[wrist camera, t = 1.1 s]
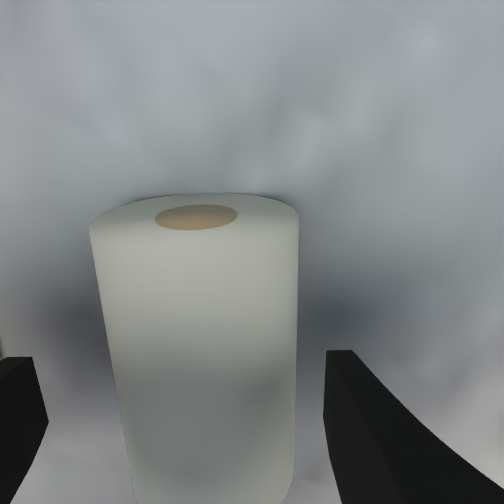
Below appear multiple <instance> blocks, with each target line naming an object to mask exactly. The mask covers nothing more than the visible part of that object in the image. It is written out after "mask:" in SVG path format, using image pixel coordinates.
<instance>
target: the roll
mask: <svg viewBox="0 0 504 504" xmlns="http://www.w3.org/2000/svg"><path fill="white" fill-rule="evenodd" d="M89 235H90V241H91V247H92V253H93V258H94V264H95V270H96V276H97V282H98V287H99V293H100V299H101V305H102V310H103V316H104V322H105V328H106V333H107V339H108V345H109V351H110V357H111V362H112V368H113V374H114V380H115V385H116V391H117V397H118V403H119V408H120V414H121V420H122V426H123V432H124V437H125V443H126V449H127V455H128V460H129V466H130V472H131V478H132V484H133V489H134V494H135V497H136V500H137V503H138V504H282V502H283V501H284V499H285V497H286V496H287V494H288V492H289V489H290V487H291V484H292V480H293V476H294V459H295V407H296V355H297V302H298V250H299V215H298V213H297V212H296V210H295V209H293V208H292V207H291V206H289V205H287V204H285V203H283V202H280V201H277V200H274V199H270V198H266V197H261V196H255V195H247V194H236V193H206V194H179V195H170V196H163V197H157V198H151V199H146V200H141V201H137V202H133V203H130V204H126V205H123V206H120V207H117V208H115V209H112V210H110V211H108V212H106V213H104V214H102V215H100V216H99V217H97V218H96V219H95V220H94V221H93V222H92V223H91V224H90V226H89Z"/></svg>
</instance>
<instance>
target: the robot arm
mask: <svg viewBox="0 0 504 504" xmlns="http://www.w3.org/2000/svg"><path fill="white" fill-rule="evenodd" d="M323 419H324V426H325V432H326V439H327V445H328V451H329V457H330V461H331V465H332V468H333V472H334V476H335V480H336V483H337V487H338V491H339V494H340V498H341V502H342V504H504V489H503V488H501V487H500V486H499V485H497V484H496V483H495V482H493V481H492V480H490V479H489V478H488V477H486V476H485V475H484V474H482V473H481V472H480V471H478V470H477V469H476V468H475V467H473V466H472V465H471V464H470V463H468V462H467V461H466V460H464V459H463V458H462V457H461V456H459V455H458V454H457V453H455V452H454V451H453V450H452V449H451V448H449V447H448V446H447V445H446V444H445V443H443V442H442V441H441V440H440V439H439V438H438V437H437V436H435V435H434V434H433V433H432V432H431V431H430V430H429V429H428V428H427V427H425V426H424V425H423V424H422V423H421V422H420V421H419V420H418V419H417V418H416V417H415V416H414V415H413V414H412V413H411V412H410V411H409V410H408V409H407V408H406V407H405V406H404V405H403V404H402V403H401V402H400V401H399V400H398V399H397V398H396V397H395V396H394V395H393V394H392V393H391V392H390V391H389V390H388V389H387V388H386V387H385V386H384V385H383V384H382V383H381V382H380V381H379V379H378V378H377V377H376V376H375V375H374V374H373V373H372V372H371V371H370V370H369V368H368V367H367V366H366V365H365V364H364V363H363V362H362V361H361V359H360V358H359V357H358V356H357V355H356V354H355V353H354V352H353V351H352V350H329V351H326V371H325V390H324V410H323ZM48 423H49V421H48V417H47V413H46V409H45V405H44V401H43V397H42V393H41V390H40V386H39V382H38V378H37V374H36V370H35V366H34V363H33V359H32V357H7V358H5V359H3V360H1V361H0V504H10V503H11V501H12V499H13V497H14V496H15V494H16V492H17V490H18V488H19V486H20V485H21V483H22V481H23V479H24V477H25V476H26V474H27V472H28V470H29V468H30V466H31V465H32V463H33V460H34V458H35V456H36V453H37V451H38V449H39V446H40V444H41V441H42V439H43V436H44V434H45V431H46V428H47V426H48Z"/></svg>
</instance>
